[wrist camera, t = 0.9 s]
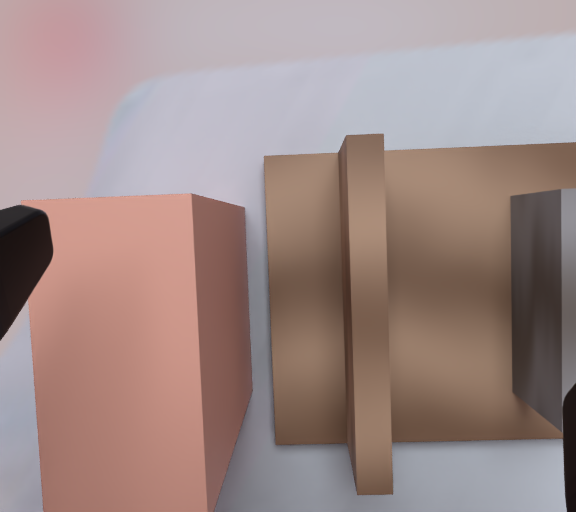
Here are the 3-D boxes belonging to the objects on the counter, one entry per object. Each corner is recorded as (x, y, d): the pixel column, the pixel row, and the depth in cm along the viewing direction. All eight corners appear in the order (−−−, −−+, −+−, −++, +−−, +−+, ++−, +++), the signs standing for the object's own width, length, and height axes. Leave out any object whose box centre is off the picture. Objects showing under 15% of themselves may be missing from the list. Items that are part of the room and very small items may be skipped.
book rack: (616, 427, 21) (711, 488, 16) (277, 434, 22) (268, 496, 17) (618, 143, 21) (716, 118, 16) (265, 159, 21) (253, 139, 16)
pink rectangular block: (252, 390, 22) (207, 528, 12) (162, 392, 22) (44, 530, 12) (244, 207, 21) (191, 193, 12) (152, 211, 22) (21, 200, 12)
